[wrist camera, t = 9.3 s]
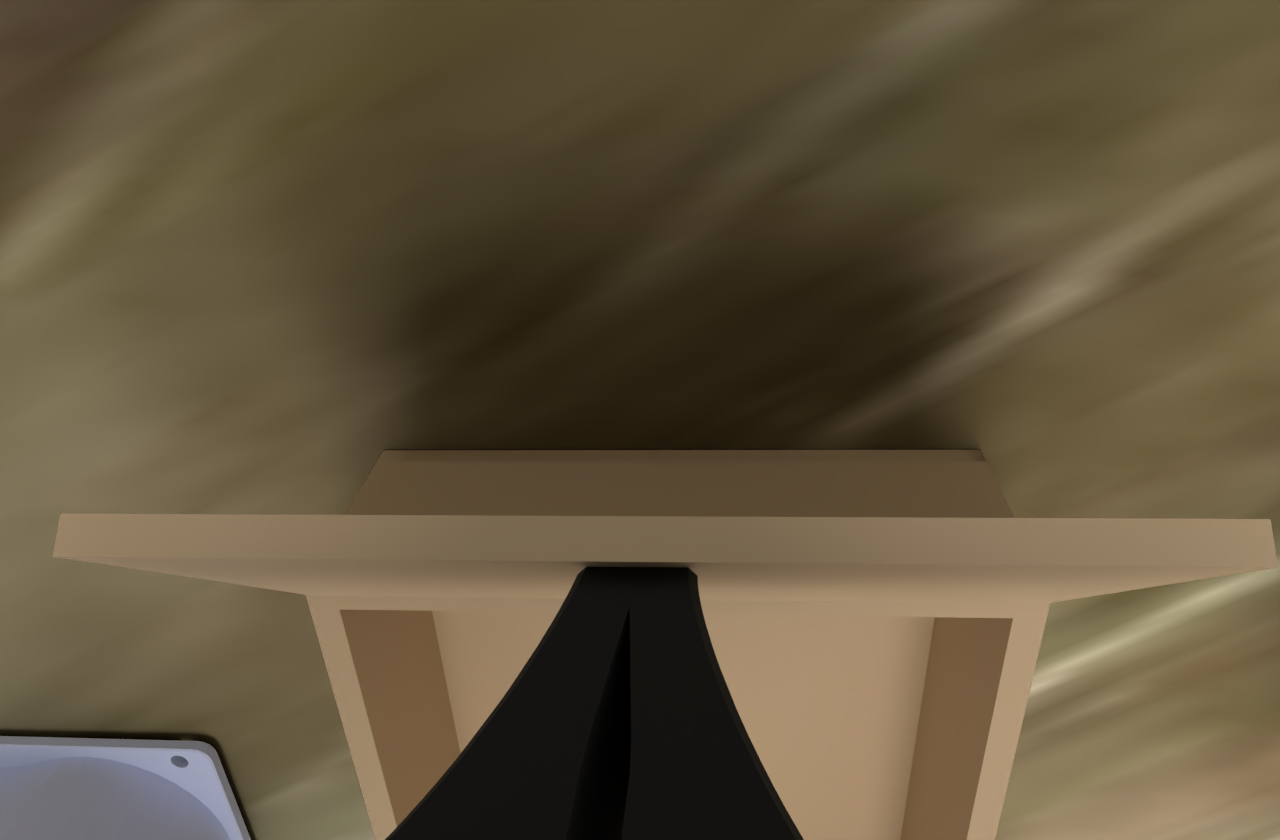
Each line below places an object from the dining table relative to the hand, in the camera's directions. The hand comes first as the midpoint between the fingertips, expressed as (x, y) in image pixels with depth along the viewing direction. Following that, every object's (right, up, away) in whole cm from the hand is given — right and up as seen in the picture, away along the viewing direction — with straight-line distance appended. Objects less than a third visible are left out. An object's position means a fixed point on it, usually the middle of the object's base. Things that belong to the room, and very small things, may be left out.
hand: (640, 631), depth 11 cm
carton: (+1, -6, +15) cm, 16 cm away
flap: (0, 0, +2) cm, 2 cm away
